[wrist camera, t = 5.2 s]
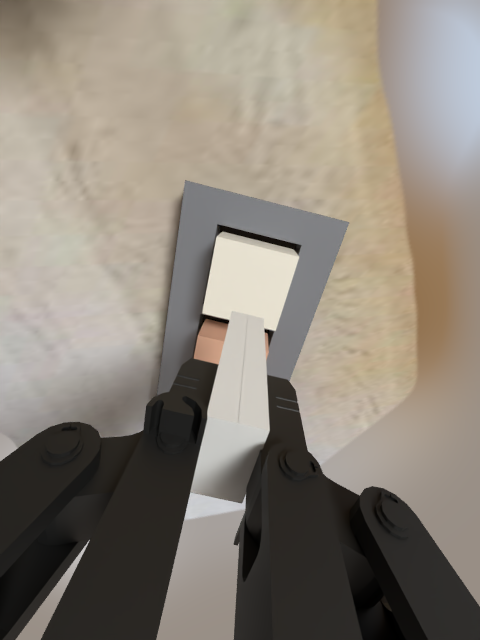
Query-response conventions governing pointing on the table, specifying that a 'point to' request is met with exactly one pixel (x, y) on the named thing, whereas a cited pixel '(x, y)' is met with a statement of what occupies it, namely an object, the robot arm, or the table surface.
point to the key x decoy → (214, 341)
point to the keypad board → (196, 258)
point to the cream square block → (249, 278)
